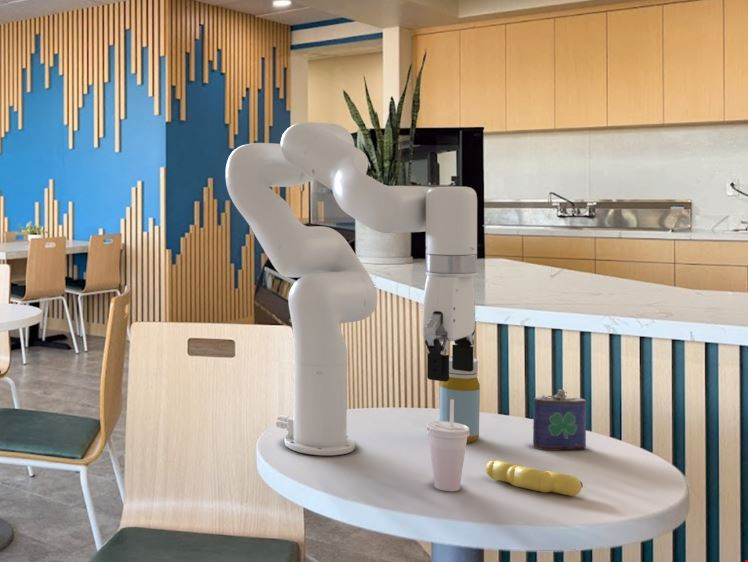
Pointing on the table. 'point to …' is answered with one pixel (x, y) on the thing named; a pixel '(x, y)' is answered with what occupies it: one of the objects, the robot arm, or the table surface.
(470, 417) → the bottle
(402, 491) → the table surface
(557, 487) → the yellow lumpy bar
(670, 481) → the table surface
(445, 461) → the smoothie
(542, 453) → the table surface
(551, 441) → the flask
